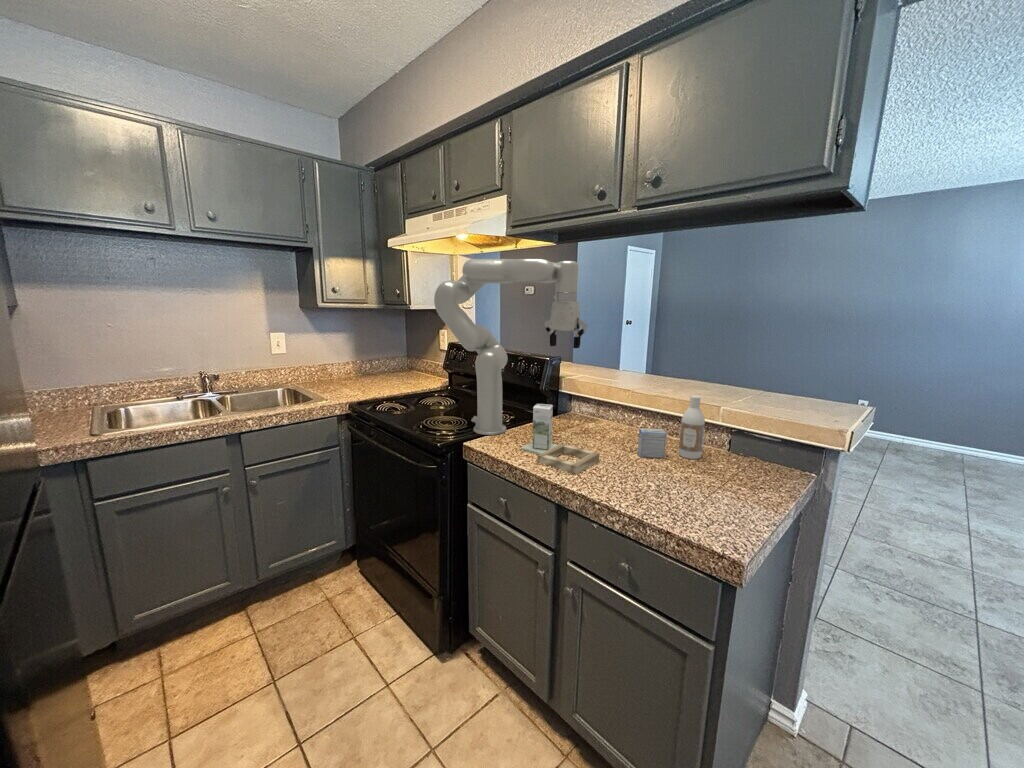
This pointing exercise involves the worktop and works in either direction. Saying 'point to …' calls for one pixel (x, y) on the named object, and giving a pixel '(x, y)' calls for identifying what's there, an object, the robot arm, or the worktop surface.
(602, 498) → the worktop surface
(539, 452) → the sage tile
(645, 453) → the medicine box
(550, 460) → the beige flat square frame
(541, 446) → the syrup box
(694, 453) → the bath foam
